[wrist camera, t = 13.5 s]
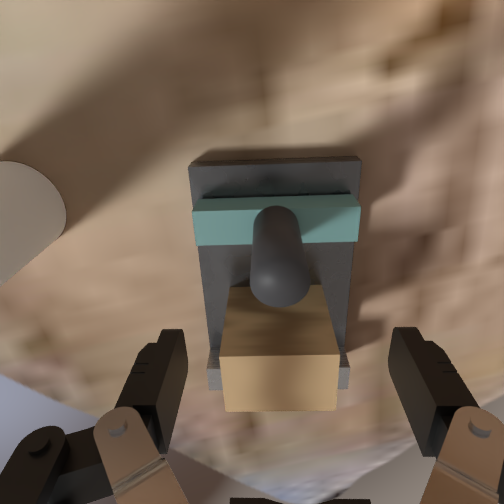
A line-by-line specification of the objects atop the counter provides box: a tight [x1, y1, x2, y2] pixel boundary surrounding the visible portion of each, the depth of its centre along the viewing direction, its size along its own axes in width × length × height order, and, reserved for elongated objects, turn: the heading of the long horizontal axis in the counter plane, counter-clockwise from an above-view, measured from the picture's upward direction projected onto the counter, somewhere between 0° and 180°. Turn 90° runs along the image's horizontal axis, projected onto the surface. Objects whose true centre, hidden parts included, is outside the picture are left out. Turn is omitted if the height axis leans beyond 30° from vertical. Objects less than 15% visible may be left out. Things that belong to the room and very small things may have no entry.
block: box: [219, 285, 340, 412], centre depth 27 cm, size 8×5×8 cm, turn 93°
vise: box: [188, 156, 362, 390], centre depth 29 cm, size 12×19×4 cm, turn 2°
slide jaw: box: [192, 194, 361, 307], centre depth 22 cm, size 11×3×10 cm, turn 92°
